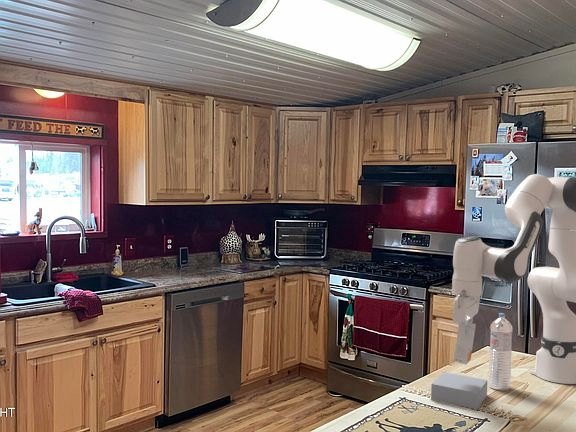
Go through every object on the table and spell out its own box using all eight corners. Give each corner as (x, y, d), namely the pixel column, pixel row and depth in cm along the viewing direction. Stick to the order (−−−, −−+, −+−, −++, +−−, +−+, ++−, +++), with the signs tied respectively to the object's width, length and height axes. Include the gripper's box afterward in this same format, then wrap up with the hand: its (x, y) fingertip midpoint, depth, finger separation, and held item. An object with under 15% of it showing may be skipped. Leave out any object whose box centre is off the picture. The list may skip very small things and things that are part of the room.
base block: (443, 386, 182) (443, 371, 182) (486, 395, 175) (487, 380, 175) (431, 399, 170) (431, 383, 170) (477, 409, 163) (477, 393, 163)
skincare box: (466, 365, 168) (472, 327, 166) (452, 361, 170) (458, 324, 168) (471, 360, 173) (476, 323, 172) (457, 356, 175) (462, 320, 174)
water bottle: (512, 392, 178) (514, 316, 177) (490, 390, 180) (492, 315, 179) (508, 385, 185) (510, 312, 184) (486, 383, 186) (489, 310, 185)
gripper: (469, 294, 159) (468, 341, 160) (483, 285, 177) (482, 327, 178) (448, 292, 163) (446, 338, 163) (463, 283, 180) (462, 324, 181)
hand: (465, 332), depth 170 cm, fingers closed on skincare box, 6 cm apart
